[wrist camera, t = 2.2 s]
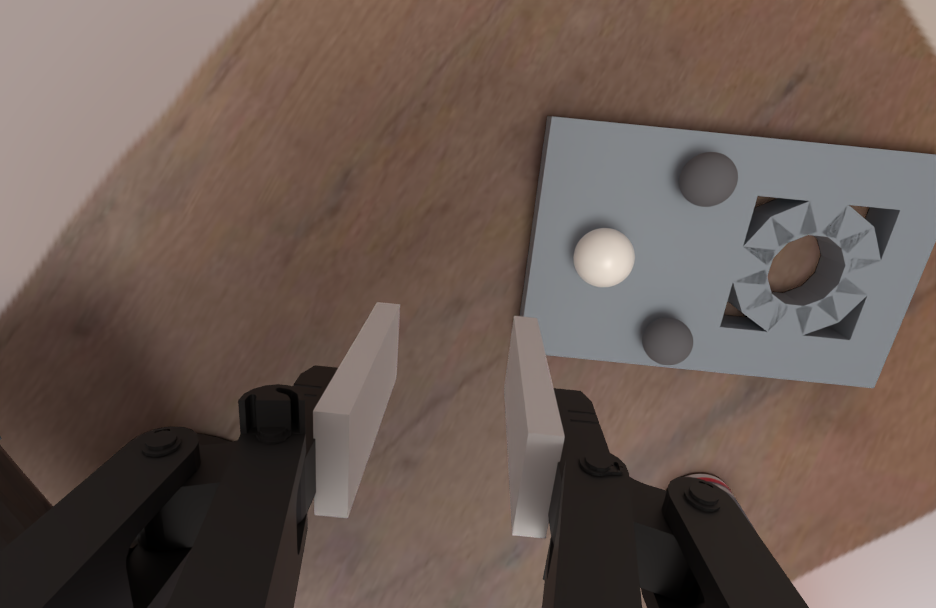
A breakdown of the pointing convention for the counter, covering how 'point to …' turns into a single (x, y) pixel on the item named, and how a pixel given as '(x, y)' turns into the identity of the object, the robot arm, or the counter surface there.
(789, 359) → the plate
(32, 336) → the counter surface
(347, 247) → the counter surface
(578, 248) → the ball
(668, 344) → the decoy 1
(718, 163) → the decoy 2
